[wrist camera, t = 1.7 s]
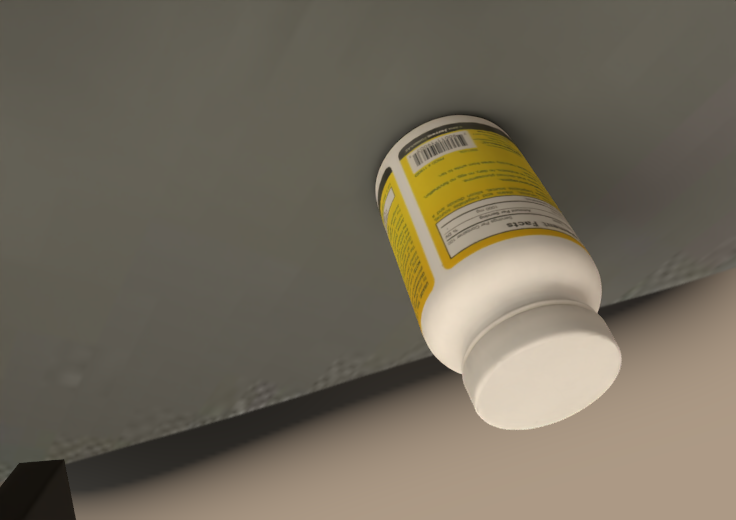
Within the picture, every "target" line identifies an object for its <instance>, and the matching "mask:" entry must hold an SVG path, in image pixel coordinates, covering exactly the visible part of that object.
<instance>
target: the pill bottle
mask: <svg viewBox="0 0 736 520" xmlns="http://www.w3.org/2000/svg"><path fill="white" fill-rule="evenodd" d="M376 200H377V205H378V208H379V211H380V215H381V218H382V221H383V224H384V226H385V229H386V232H387V235H388V237H389V240H390V243H391V246H392V249H393V252H394V255H395V257H396V260H397V263H398V266H399V268H400V272H401V274H402V277H403V280H404V283H405V286H406V288H407V291H408V294H409V297H410V300H411V303H412V305H413V308H414V311H415V314H416V317H417V320H418V323H419V326H420V329H421V331H422V334H423V336H424V339H425V341H426V343H427V345H428V347H429V349H430V350H431V352H432V353H433V354H434V355H435V357H436V358H437V359H439V360H440V361H441V362H442V363H443V364H444V365H446V366H447V367H449V368H450V369H452V370H454V371H456V372H458V373H460V374H462V375H463V383H464V386H465V388H466V390H467V392H468V394H469V397H470V399H471V401H472V404H473V406H474V408H475V411H476V412H477V414H478V415H479V417H480V418H481V419H482V420H484V421H485V422H486V423H488V424H490V425H492V426H495V427H498V428H501V429H508V430H525V429H533V428H538V427H542V426H546V425H549V424H553V423H555V422H558V421H561V420H563V419H565V418H568V417H570V416H571V415H574V414H576V413H577V412H579V411H581V410H583V409H584V408H586V407H587V406H589V405H590V404H591V403H593V402H594V401H595V400H597V399H598V398H599V397H600V396H601V395H602V394H603V393H604V392H605V391H606V390H607V389H608V388H609V387H610V386H611V384H612V383H613V382H614V380H615V379H616V377H617V375H618V373H619V371H620V368H621V364H622V356H621V352H620V349H619V346H618V344H617V343H616V341H615V339H614V337H613V336H612V334H611V332H610V330H609V328H608V327H607V325H606V323H605V321H604V320H603V319H602V318H601V317H600V316H599V315H598V314H597V313H598V310H599V306H600V302H601V294H602V288H601V280H600V275H599V272H598V270H597V268H596V265H595V263H594V262H593V260H592V258H591V256H590V254H589V253H588V251H587V250H586V248H585V247H584V245H583V244H582V243H581V241H580V240H579V238H578V237H577V235H576V234H575V232H574V231H573V229H572V228H571V226H570V225H569V223H568V222H567V220H566V219H565V217H564V216H563V214H562V213H561V211H560V210H559V208H558V207H557V205H556V204H555V202H554V201H553V199H552V198H551V196H550V195H549V193H548V192H547V190H546V189H545V187H544V186H543V184H542V183H541V181H540V180H539V178H538V177H537V176H536V174H535V173H534V171H533V170H532V168H531V167H530V165H529V164H528V162H527V161H526V159H525V158H524V156H523V155H522V154H521V152H520V151H519V149H518V147H517V146H516V144H515V143H514V142H513V141H512V140H511V138H510V137H509V136H508V135H507V134H506V133H505V132H504V131H503V130H502V129H501V128H500V127H498V126H497V125H495V124H494V123H492V122H490V121H488V120H485V119H483V118H479V117H474V116H468V115H451V116H446V117H442V118H438V119H434V120H432V121H429V122H427V123H425V124H422V125H420V126H419V127H417V128H415V129H413V130H412V131H411V132H409V133H408V134H406V135H405V136H404V137H403V138H401V139H400V140H399V141H398V142H397V143H396V144H395V145H394V146H393V148H392V149H391V150H390V151H389V153H388V154H387V156H386V157H385V159H384V160H383V163H382V165H381V167H380V169H379V172H378V175H377V180H376Z"/></svg>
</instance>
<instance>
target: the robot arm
mask: <svg viewBox="0 0 736 520" xmlns="http://www.w3.org/2000/svg"><path fill="white" fill-rule="evenodd" d="M0 520H76V518H75V513H74V508H73V503H72V498H71V492H70V487H69V482H68V477H67V472H66V467H65V462H64V459H63V460H51V461H39V462H27V463H19V464H18V465H17V467H16V468H15V469H14V470H13V472H12V473H11V474H10V475H9V477H8V478H7V479H6V480H5V482H4V483H3V484H2V485H1V487H0Z"/></svg>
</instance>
